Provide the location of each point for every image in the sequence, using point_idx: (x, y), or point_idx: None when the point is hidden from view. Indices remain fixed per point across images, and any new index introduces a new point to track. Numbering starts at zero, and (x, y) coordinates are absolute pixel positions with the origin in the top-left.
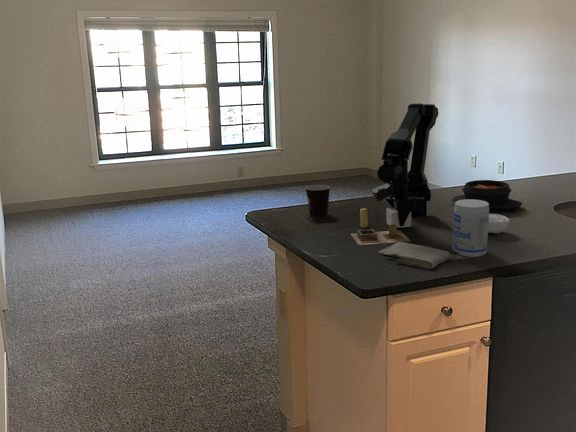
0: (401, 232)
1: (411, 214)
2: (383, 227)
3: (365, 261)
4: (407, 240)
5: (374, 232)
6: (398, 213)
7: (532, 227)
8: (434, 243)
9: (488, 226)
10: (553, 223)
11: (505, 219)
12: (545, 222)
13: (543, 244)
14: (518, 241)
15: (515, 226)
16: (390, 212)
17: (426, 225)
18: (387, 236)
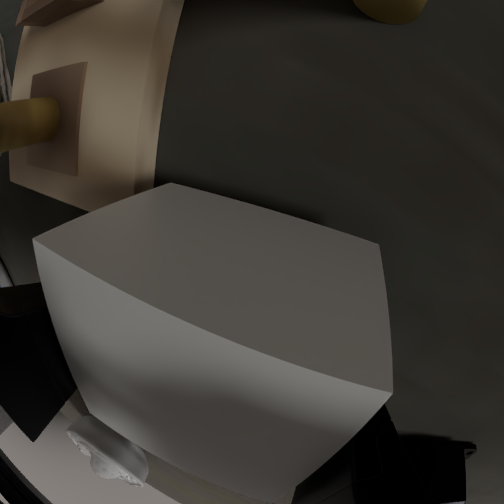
0: (88, 206)
1: (413, 464)
2: (388, 198)
3: (4, 3)
4: (13, 170)
5: (31, 7)
6: (17, 289)
7: (152, 475)
8: (35, 266)
9: (73, 422)
10: (170, 493)
11: (84, 453)
12: (178, 495)
13: (63, 406)
14: (71, 404)
15: (163, 476)
16: (70, 255)
17: None
18: (48, 85)
